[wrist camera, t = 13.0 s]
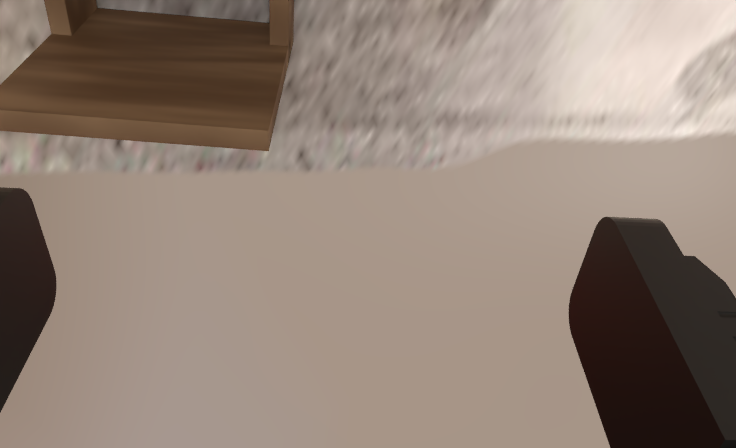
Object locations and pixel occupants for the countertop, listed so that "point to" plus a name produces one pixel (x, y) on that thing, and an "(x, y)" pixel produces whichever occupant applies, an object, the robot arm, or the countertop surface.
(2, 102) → the open box
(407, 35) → the countertop surface
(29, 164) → the countertop surface
